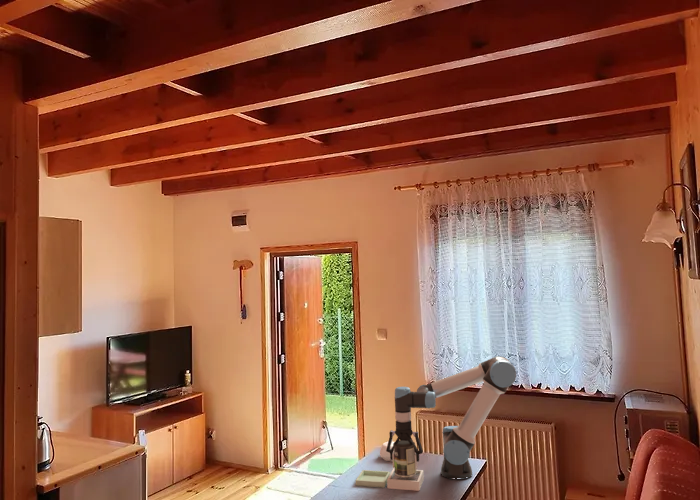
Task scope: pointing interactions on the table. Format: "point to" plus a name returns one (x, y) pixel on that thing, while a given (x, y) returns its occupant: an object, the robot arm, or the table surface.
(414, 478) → the plate
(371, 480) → the tray
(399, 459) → the coffee can
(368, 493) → the table surface
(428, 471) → the table surface
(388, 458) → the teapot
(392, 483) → the checker cradle
